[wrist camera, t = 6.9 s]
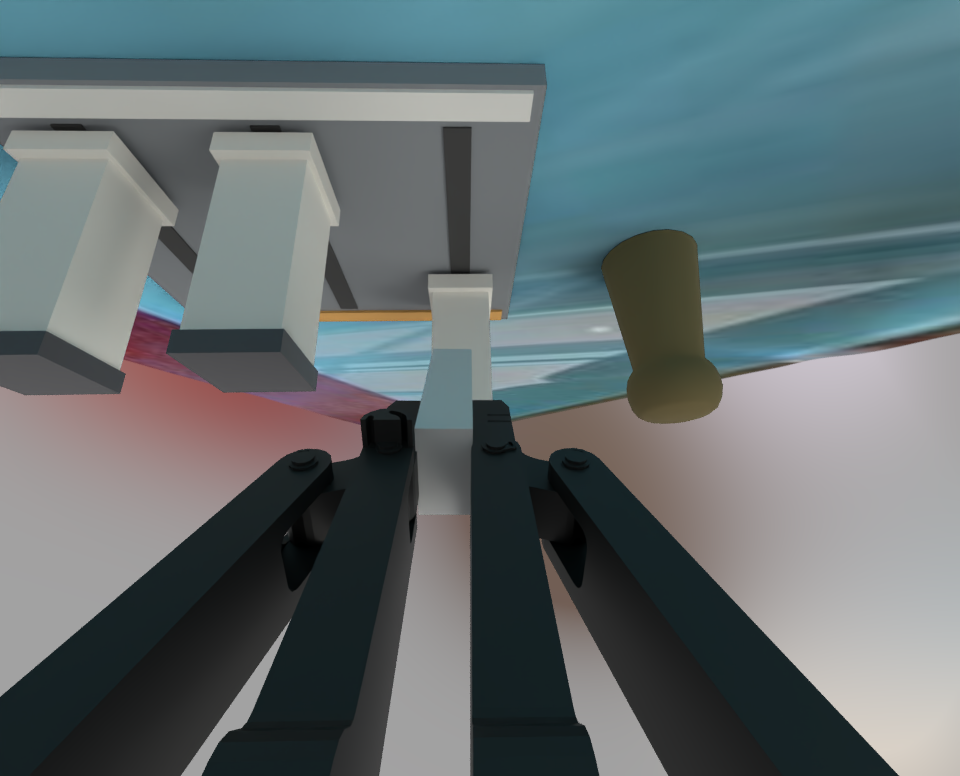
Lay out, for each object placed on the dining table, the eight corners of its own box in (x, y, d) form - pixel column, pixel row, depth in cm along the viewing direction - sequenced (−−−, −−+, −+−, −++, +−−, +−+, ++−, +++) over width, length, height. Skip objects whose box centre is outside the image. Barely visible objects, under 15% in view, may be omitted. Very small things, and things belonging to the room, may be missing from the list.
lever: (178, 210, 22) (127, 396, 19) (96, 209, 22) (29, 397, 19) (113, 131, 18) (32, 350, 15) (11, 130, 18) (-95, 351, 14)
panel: (506, 305, 34) (507, 321, 34) (203, 307, 34) (199, 323, 33) (544, 64, 18) (547, 88, 17) (-60, 56, 17) (-76, 81, 16)
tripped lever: (488, 310, 32) (493, 445, 28) (433, 310, 32) (431, 446, 28) (492, 274, 28) (498, 426, 24) (428, 274, 28) (425, 427, 24)
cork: (687, 278, 32) (721, 427, 28) (600, 292, 33) (621, 435, 29) (707, 221, 26) (752, 396, 22) (601, 239, 28) (627, 408, 24)
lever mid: (340, 210, 23) (320, 393, 19) (260, 210, 22) (224, 394, 19) (312, 132, 18) (280, 348, 15) (213, 131, 18) (157, 349, 15)
